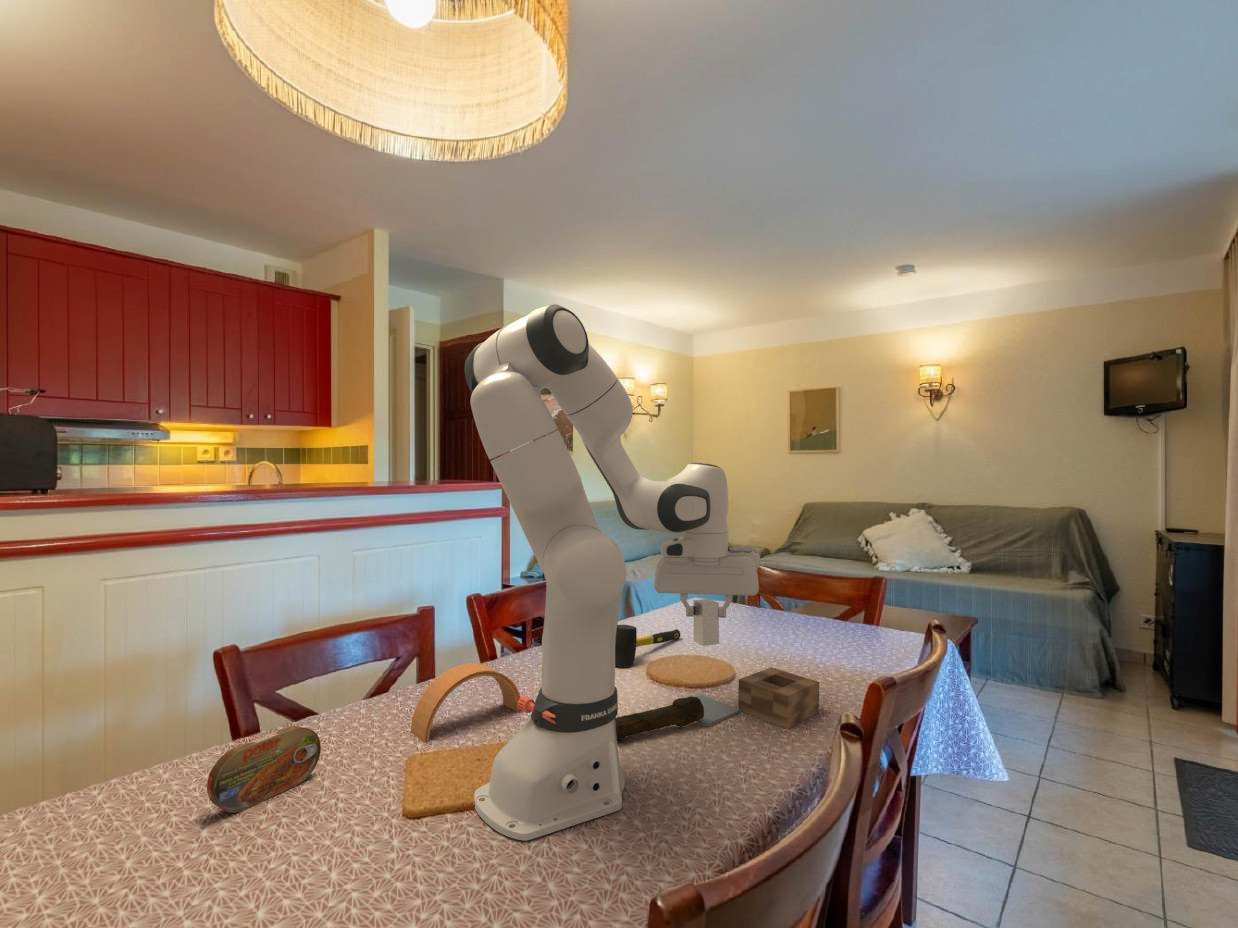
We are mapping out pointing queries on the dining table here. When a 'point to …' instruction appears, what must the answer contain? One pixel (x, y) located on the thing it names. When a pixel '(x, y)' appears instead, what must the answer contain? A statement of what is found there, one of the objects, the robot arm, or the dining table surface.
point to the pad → (715, 711)
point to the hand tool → (660, 717)
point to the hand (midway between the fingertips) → (705, 616)
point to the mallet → (636, 643)
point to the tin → (263, 768)
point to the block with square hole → (778, 697)
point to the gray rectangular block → (706, 622)
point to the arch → (447, 684)
